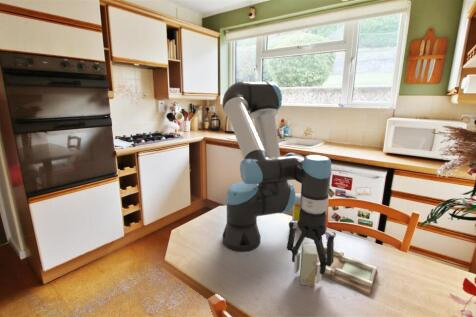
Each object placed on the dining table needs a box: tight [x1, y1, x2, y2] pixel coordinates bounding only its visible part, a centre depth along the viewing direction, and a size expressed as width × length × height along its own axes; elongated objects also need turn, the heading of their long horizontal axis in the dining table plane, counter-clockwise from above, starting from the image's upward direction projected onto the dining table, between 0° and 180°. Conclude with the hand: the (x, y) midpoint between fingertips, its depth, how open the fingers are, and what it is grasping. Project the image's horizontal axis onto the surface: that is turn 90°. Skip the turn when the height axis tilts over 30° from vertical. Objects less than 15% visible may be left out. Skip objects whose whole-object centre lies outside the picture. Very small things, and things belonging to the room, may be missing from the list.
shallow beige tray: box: [316, 245, 378, 296], centre depth 83 cm, size 20×13×2 cm, turn 54°
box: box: [299, 243, 317, 287], centre depth 77 cm, size 5×4×11 cm
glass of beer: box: [291, 192, 301, 230], centre depth 107 cm, size 6×6×15 cm
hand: (307, 275), depth 78 cm, fingers open, 6 cm apart
